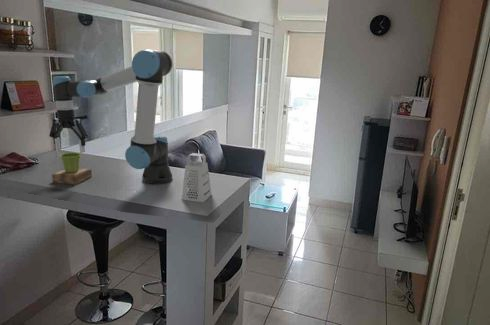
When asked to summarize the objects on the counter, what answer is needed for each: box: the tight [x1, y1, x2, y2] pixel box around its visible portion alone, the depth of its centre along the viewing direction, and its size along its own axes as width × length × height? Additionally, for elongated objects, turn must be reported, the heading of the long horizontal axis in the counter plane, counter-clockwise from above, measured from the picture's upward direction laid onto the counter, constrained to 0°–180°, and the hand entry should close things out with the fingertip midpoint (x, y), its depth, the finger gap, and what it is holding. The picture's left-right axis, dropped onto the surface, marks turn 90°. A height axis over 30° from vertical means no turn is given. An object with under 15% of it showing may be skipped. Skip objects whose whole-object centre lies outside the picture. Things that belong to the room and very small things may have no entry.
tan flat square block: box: [51, 167, 93, 185], centre depth 190 cm, size 13×13×4 cm
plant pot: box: [59, 152, 82, 173], centre depth 188 cm, size 9×9×9 cm
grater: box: [181, 152, 213, 203], centre depth 168 cm, size 10×10×20 cm
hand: (70, 151), depth 186 cm, fingers open, 13 cm apart
